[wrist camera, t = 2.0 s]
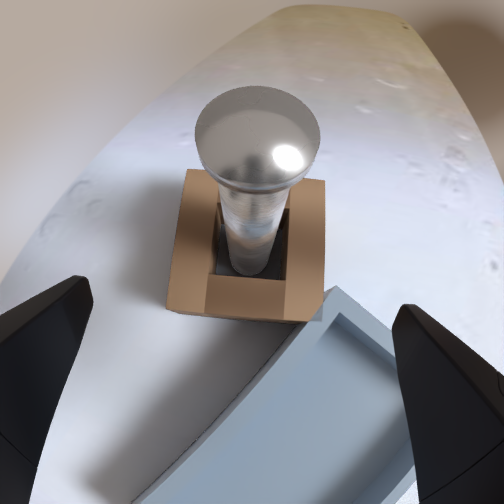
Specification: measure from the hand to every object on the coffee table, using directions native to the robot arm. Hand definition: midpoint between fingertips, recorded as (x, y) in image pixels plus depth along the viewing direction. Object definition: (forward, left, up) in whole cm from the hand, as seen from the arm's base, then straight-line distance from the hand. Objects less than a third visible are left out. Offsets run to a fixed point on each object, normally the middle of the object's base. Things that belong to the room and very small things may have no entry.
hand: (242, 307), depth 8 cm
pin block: (+3, +2, -11) cm, 12 cm away
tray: (-6, -9, -11) cm, 15 cm away
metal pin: (+3, +2, -11) cm, 12 cm away
